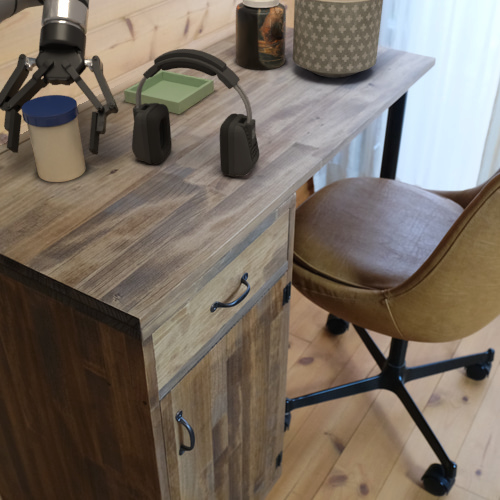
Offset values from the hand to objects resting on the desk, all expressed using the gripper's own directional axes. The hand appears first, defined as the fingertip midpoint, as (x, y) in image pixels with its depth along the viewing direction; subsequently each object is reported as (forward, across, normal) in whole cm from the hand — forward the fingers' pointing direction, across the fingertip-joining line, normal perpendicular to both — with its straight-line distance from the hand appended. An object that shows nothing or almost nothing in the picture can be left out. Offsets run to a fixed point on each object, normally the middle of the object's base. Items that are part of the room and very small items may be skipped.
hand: (52, 151), depth 107 cm
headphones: (-1, -23, -8) cm, 24 cm away
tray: (-22, -13, -29) cm, 39 cm away
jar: (-38, -32, -45) cm, 66 cm away
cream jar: (+2, 0, -5) cm, 6 cm away
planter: (-34, -49, -41) cm, 72 cm away
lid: (-6, 0, +3) cm, 7 cm away
